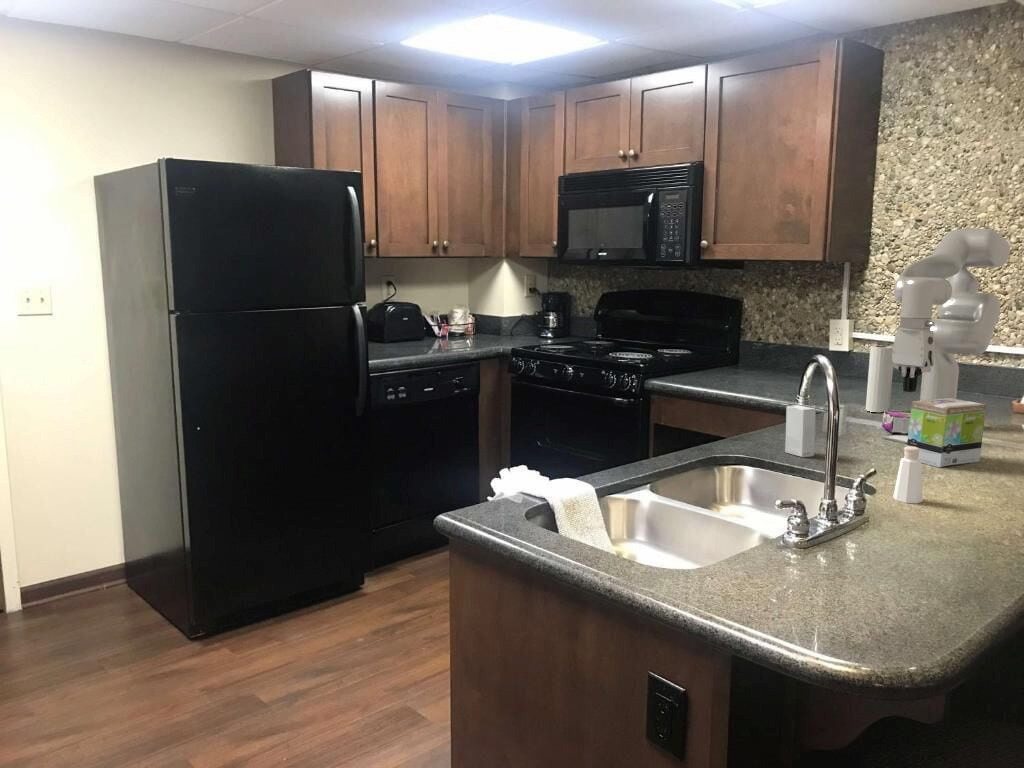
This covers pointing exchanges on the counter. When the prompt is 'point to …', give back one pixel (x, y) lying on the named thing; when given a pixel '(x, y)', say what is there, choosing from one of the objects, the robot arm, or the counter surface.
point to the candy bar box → (896, 422)
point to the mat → (898, 438)
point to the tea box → (947, 431)
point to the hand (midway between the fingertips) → (909, 391)
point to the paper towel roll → (879, 379)
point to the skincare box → (800, 430)
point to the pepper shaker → (909, 477)
